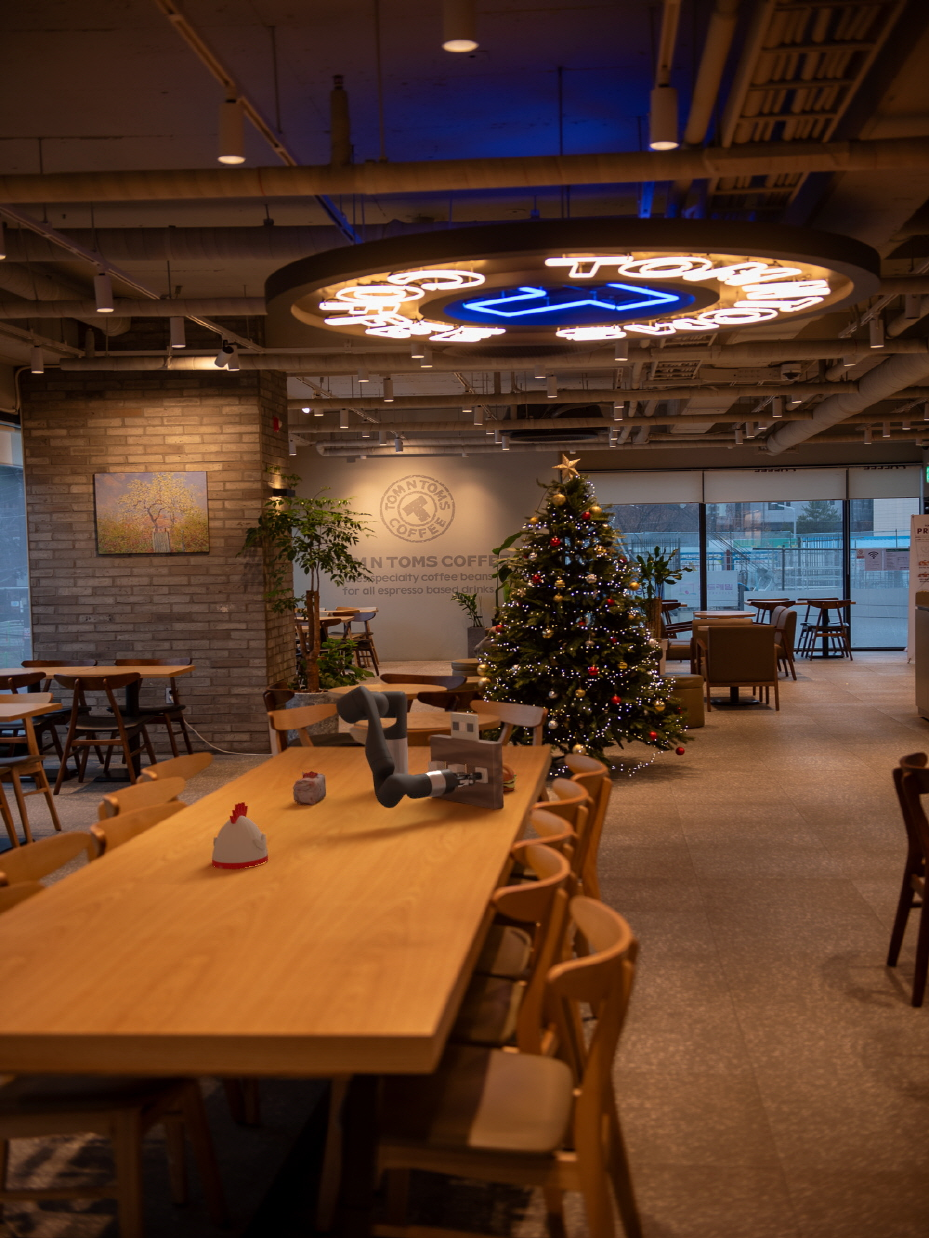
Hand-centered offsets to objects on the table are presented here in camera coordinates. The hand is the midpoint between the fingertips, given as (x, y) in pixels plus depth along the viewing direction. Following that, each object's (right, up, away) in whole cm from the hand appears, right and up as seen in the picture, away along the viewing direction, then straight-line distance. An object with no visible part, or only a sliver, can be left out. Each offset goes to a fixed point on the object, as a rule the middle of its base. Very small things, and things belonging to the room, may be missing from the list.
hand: (480, 775), depth 330 cm
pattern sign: (-5, +10, +9) cm, 14 cm away
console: (-4, -10, +10) cm, 14 cm away
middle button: (-7, -2, +7) cm, 10 cm away
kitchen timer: (-62, -14, -58) cm, 86 cm away
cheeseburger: (+8, -9, +28) cm, 31 cm away
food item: (-55, -11, +18) cm, 59 cm away
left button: (-14, -2, +15) cm, 20 cm away
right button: (+1, -2, +1) cm, 3 cm away
